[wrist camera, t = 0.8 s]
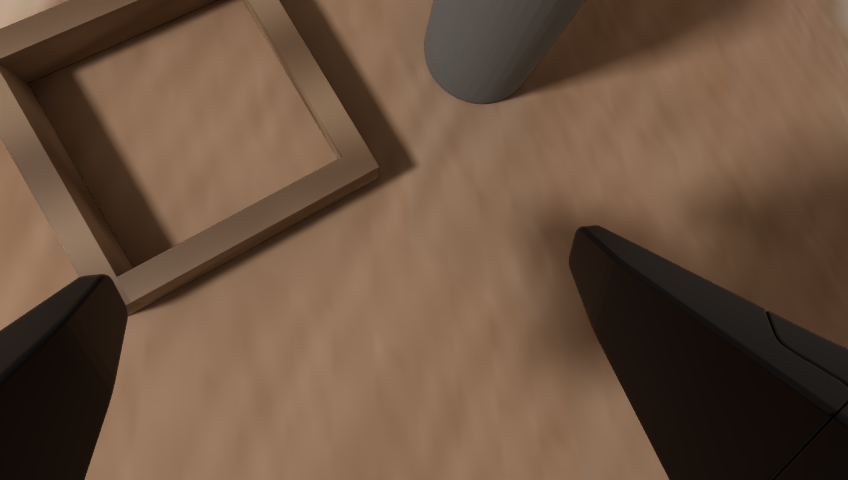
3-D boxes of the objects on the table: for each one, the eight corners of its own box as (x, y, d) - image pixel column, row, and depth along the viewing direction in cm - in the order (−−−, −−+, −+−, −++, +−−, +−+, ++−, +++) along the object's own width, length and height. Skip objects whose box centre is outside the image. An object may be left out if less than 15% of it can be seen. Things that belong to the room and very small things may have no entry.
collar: (377, 178, 23) (379, 166, 21) (126, 316, 21) (102, 318, 19) (247, -38, 24) (237, -69, 22) (-12, 72, 21) (-50, 49, 19)
